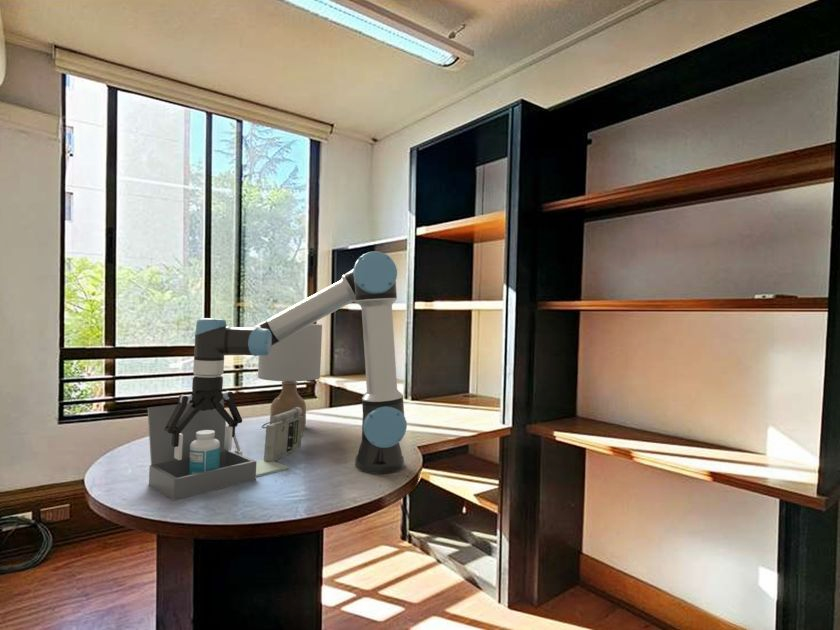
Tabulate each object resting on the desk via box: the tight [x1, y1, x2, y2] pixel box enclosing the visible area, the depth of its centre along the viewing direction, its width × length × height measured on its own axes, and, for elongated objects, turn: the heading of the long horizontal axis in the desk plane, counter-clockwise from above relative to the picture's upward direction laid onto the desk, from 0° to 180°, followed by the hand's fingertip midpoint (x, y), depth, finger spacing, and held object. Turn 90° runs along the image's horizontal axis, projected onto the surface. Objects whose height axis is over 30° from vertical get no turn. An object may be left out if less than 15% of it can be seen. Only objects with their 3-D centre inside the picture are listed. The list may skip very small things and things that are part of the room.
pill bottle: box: [189, 430, 220, 475], centre depth 129 cm, size 8×7×14 cm
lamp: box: [257, 321, 323, 430], centre depth 192 cm, size 24×24×42 cm
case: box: [147, 398, 257, 501], centre depth 131 cm, size 19×23×20 cm
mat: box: [255, 458, 289, 478], centre depth 142 cm, size 11×11×1 cm
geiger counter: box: [261, 407, 304, 462], centre depth 159 cm, size 14×6×25 cm
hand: (203, 454), depth 129 cm, fingers open, 13 cm apart
